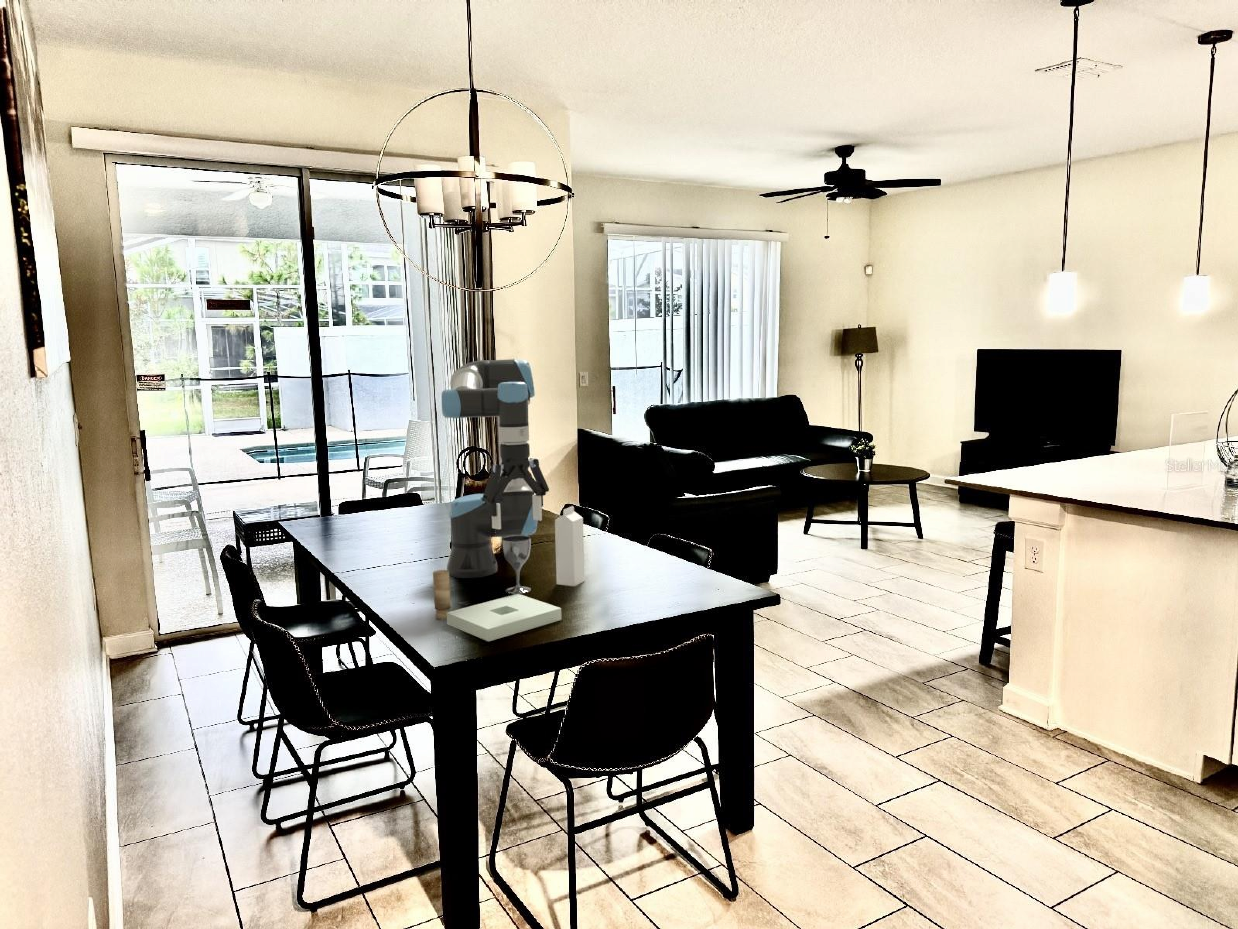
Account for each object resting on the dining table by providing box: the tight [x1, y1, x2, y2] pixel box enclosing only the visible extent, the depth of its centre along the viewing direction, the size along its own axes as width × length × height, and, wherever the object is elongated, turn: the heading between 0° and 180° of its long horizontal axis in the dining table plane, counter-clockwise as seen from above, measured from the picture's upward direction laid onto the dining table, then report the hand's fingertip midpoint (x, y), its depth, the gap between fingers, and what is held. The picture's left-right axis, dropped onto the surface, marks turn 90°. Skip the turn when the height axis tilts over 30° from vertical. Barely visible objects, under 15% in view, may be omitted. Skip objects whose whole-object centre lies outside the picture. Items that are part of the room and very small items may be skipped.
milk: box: [554, 505, 585, 587], centre depth 251 cm, size 6×6×22 cm
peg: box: [432, 569, 452, 621], centre depth 222 cm, size 4×4×12 cm
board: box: [446, 594, 562, 642], centre depth 219 cm, size 18×22×3 cm
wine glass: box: [501, 535, 532, 595], centre depth 245 cm, size 8×8×15 cm
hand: (517, 524), depth 227 cm, fingers open, 13 cm apart
